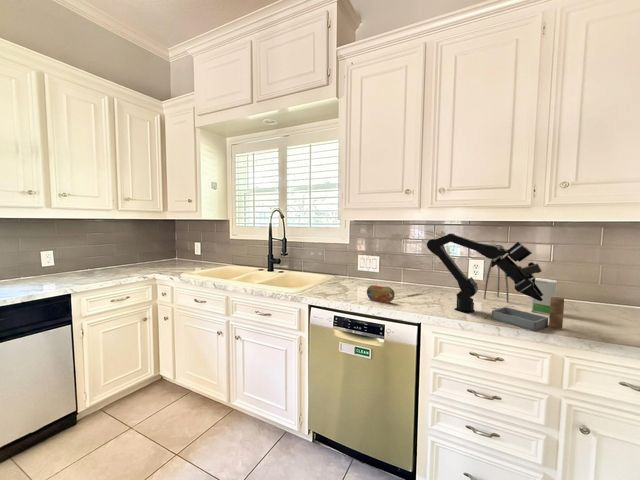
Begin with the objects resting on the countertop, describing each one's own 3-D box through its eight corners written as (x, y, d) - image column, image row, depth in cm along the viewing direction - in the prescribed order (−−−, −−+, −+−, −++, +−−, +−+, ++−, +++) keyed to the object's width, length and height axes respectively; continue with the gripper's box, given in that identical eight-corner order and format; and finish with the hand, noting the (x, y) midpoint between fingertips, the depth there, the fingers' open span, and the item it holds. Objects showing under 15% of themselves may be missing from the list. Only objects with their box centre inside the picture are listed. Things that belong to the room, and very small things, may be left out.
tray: (491, 318, 120) (491, 310, 120) (504, 314, 126) (505, 306, 125) (534, 331, 106) (535, 322, 106) (547, 325, 112) (548, 317, 112)
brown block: (548, 328, 110) (550, 298, 109) (548, 325, 113) (550, 296, 112) (562, 330, 107) (564, 300, 106) (561, 327, 110) (563, 298, 109)
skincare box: (531, 311, 129) (532, 279, 128) (533, 308, 134) (535, 277, 133) (554, 316, 123) (556, 282, 122) (555, 312, 128) (557, 279, 127)
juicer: (483, 298, 151) (485, 244, 149) (497, 296, 155) (500, 244, 153) (500, 303, 142) (503, 246, 140) (515, 301, 146) (518, 245, 144)
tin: (366, 299, 150) (366, 284, 149) (368, 298, 152) (369, 283, 152) (392, 304, 141) (393, 288, 140) (395, 302, 143) (395, 287, 143)
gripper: (526, 259, 107) (562, 291, 101) (528, 254, 122) (560, 282, 115) (501, 276, 113) (534, 307, 106) (506, 270, 127) (535, 297, 121)
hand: (542, 298), depth 112 cm, fingers open, 9 cm apart
